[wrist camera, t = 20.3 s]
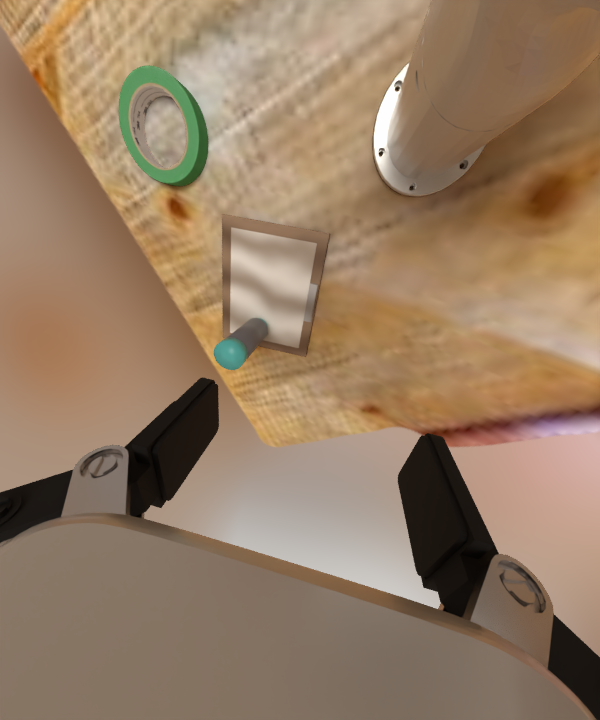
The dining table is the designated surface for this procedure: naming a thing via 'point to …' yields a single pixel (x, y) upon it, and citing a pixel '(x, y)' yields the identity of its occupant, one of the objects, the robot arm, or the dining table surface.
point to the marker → (240, 344)
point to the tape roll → (132, 111)
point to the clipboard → (272, 279)
